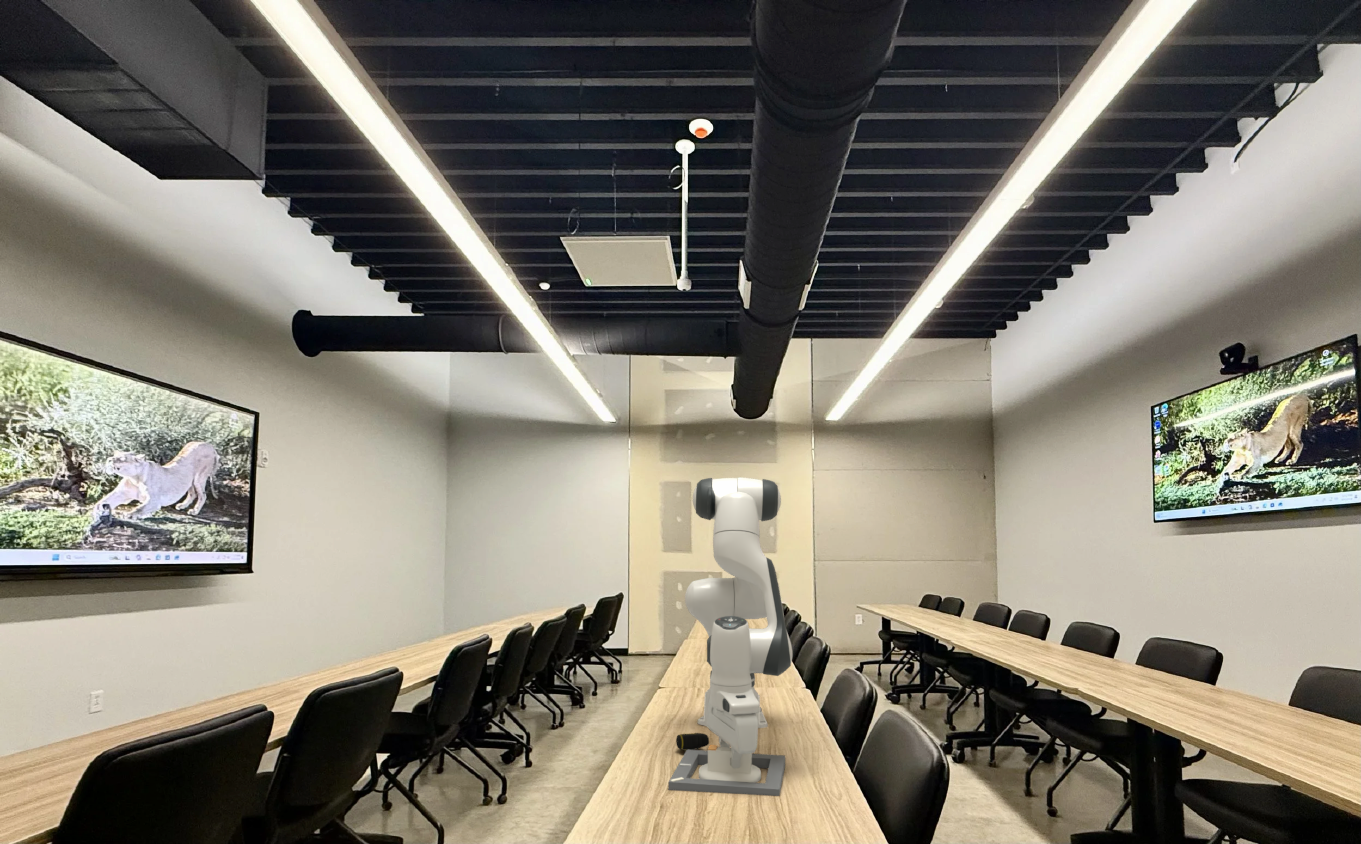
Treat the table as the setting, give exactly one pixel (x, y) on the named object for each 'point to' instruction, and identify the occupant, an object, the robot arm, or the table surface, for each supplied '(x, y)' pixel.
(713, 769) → the dial knob
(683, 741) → the tape measure
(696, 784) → the grey square frame
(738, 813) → the table surface
